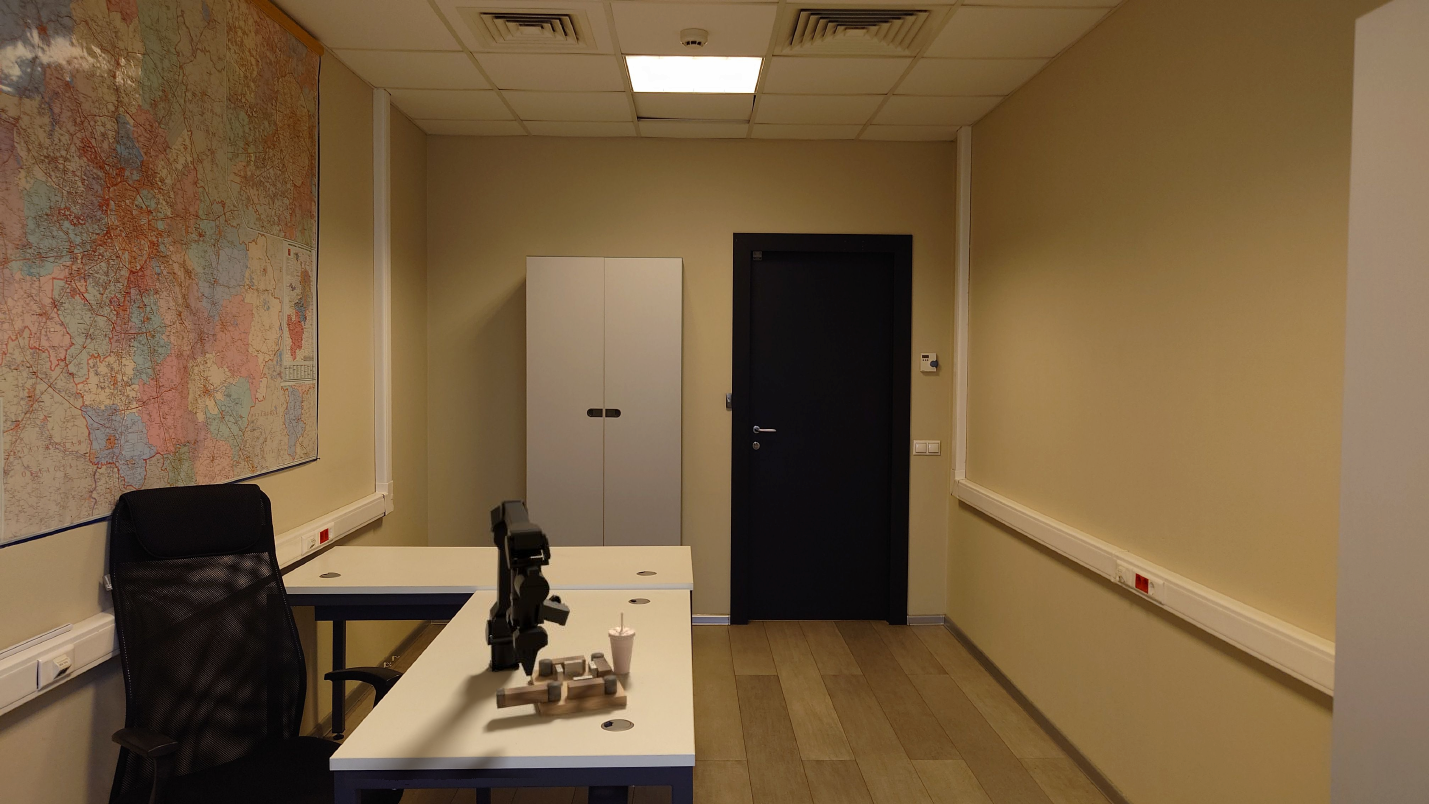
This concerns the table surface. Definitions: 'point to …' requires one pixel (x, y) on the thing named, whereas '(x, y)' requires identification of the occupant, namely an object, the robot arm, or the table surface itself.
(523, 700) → the leg
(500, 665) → the robot arm
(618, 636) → the smoothie
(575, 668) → the brackets
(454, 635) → the table surface
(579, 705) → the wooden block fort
